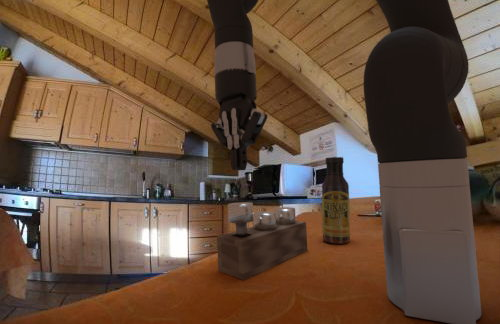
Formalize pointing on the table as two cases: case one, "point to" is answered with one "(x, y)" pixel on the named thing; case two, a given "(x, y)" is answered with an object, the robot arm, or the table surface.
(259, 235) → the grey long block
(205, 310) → the table surface
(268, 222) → the knob middle
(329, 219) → the sauce bottle
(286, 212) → the knob right
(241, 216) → the knob left
